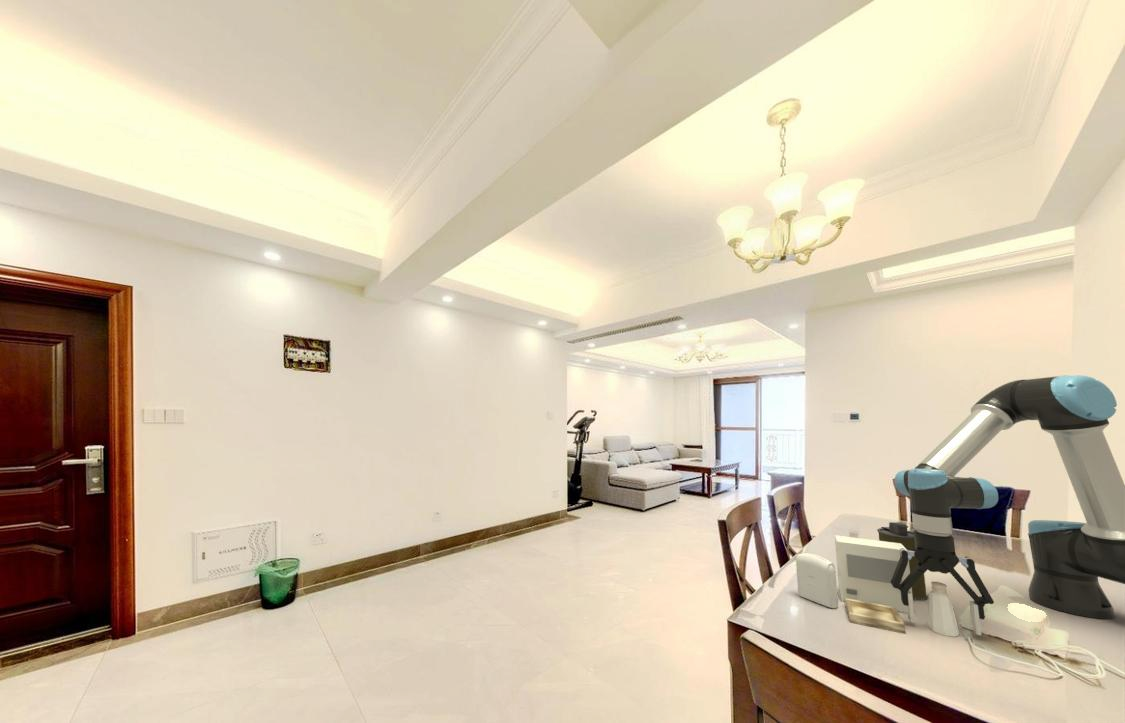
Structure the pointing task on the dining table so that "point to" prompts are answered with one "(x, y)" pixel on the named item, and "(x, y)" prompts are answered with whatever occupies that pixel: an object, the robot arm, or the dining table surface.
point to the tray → (874, 615)
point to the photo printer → (817, 579)
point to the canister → (906, 538)
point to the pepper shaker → (941, 611)
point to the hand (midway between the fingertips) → (943, 626)
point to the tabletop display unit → (869, 571)
